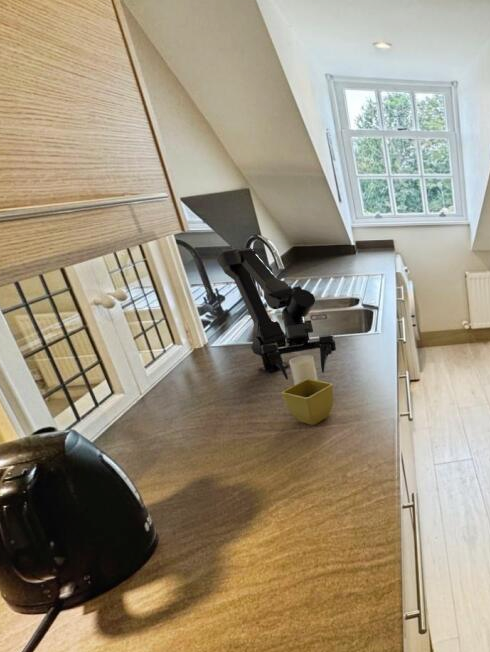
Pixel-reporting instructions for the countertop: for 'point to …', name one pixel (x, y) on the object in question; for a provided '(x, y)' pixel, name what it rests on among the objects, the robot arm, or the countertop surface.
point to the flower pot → (309, 400)
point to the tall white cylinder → (303, 368)
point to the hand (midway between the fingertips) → (305, 375)
